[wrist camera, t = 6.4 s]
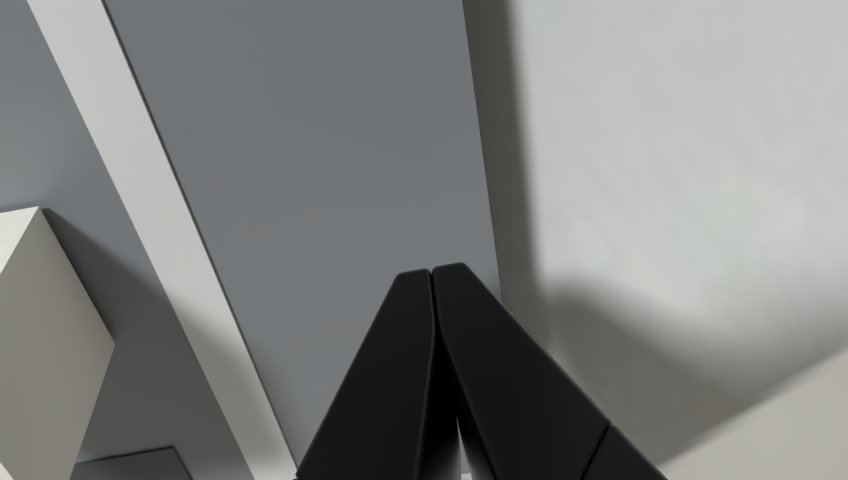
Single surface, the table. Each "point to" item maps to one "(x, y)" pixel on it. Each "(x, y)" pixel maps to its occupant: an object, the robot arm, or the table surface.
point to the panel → (239, 203)
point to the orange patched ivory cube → (44, 352)
